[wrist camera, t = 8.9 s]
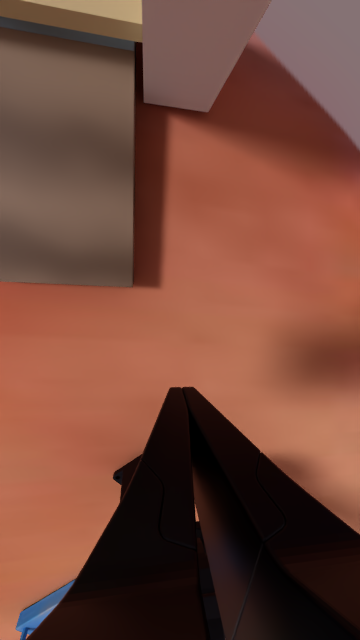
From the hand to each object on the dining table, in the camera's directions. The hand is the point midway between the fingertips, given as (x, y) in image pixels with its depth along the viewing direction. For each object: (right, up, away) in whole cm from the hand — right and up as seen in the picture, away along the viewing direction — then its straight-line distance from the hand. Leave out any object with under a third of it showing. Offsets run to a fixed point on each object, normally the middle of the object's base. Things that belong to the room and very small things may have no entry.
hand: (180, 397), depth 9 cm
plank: (-8, +13, +7) cm, 17 cm away
